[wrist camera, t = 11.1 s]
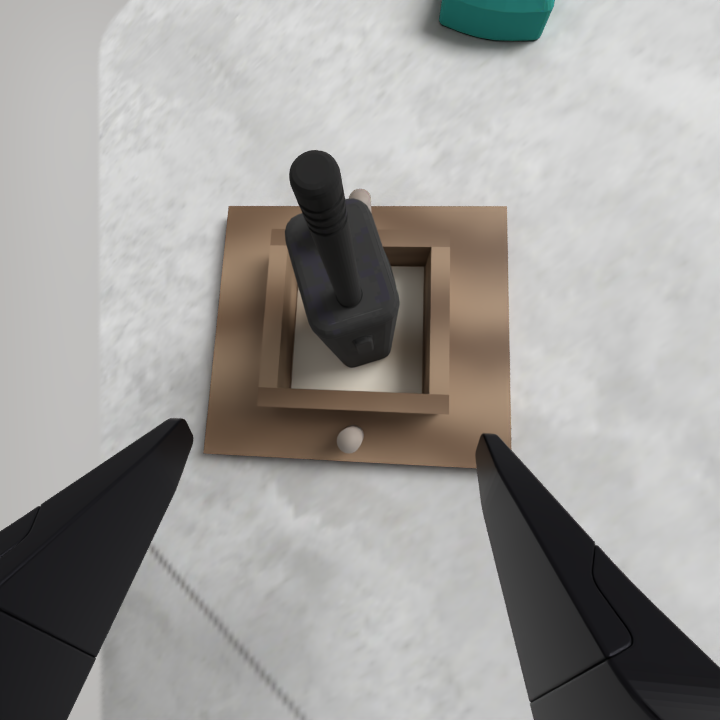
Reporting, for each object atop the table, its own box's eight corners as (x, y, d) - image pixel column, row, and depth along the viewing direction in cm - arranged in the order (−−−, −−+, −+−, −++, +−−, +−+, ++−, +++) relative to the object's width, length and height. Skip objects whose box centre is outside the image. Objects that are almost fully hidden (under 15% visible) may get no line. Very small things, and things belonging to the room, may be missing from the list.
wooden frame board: (504, 466, 19) (537, 483, 15) (212, 450, 21) (171, 462, 17) (501, 215, 21) (528, 172, 17) (235, 214, 23) (204, 174, 19)
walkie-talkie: (323, 301, 20) (166, 19, 5) (375, 284, 20) (361, -46, 5) (345, 374, 20) (234, 283, 5) (399, 358, 19) (459, 213, 5)
